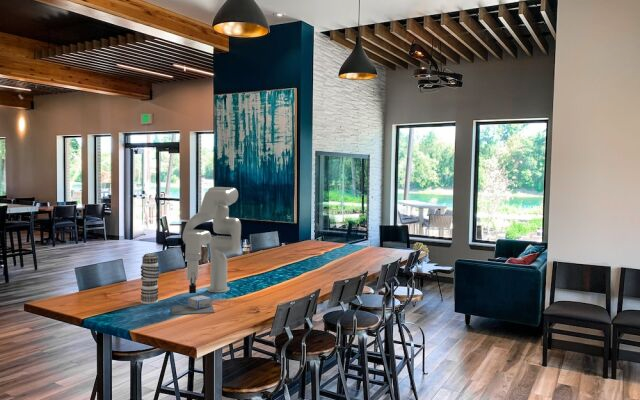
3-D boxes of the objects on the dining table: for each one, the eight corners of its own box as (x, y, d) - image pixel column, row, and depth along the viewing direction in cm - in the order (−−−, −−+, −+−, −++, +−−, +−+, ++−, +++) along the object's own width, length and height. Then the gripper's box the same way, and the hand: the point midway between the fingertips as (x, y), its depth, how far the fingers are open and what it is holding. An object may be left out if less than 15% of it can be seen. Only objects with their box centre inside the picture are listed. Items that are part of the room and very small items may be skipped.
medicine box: (200, 294, 247) (211, 297, 241) (200, 303, 247) (211, 306, 241) (187, 297, 240) (198, 300, 235) (187, 306, 241) (198, 309, 235)
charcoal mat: (171, 307, 240) (171, 306, 240) (212, 305, 246) (212, 304, 246) (171, 315, 226) (171, 314, 226) (214, 312, 232) (214, 311, 232)
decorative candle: (136, 303, 244) (137, 255, 243) (145, 298, 254) (146, 252, 252) (153, 304, 243) (154, 256, 242) (161, 299, 252) (162, 253, 251)
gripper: (185, 254, 244) (184, 289, 245) (185, 259, 229) (185, 297, 230) (200, 254, 246) (199, 289, 247) (201, 259, 232) (201, 296, 232)
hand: (192, 292), depth 238 cm, fingers closed
